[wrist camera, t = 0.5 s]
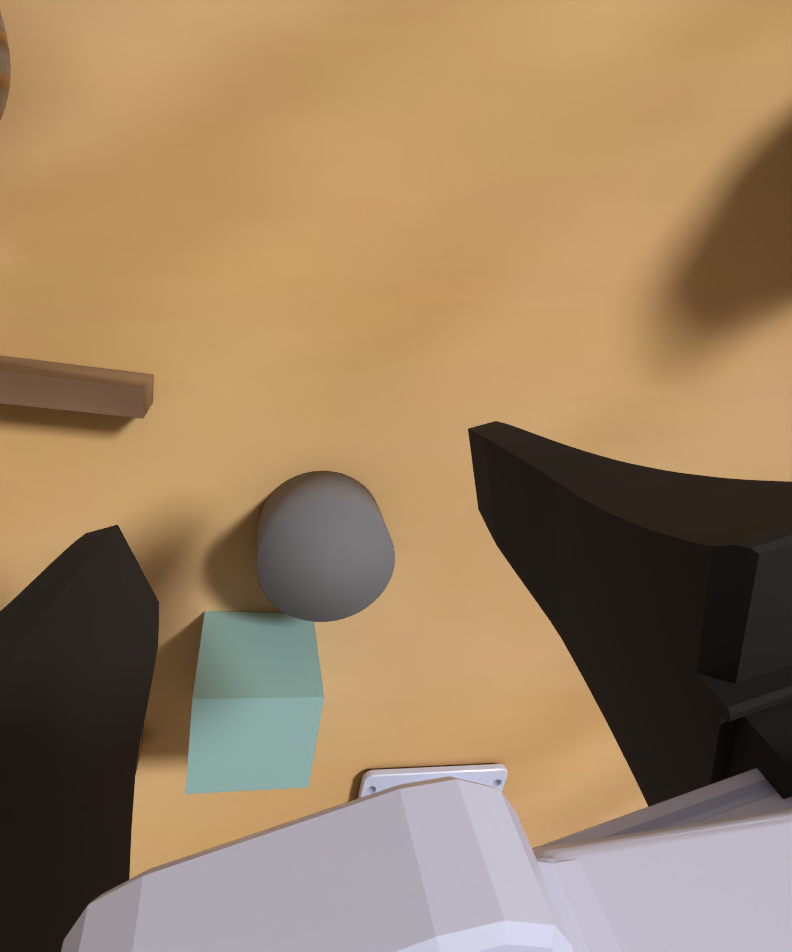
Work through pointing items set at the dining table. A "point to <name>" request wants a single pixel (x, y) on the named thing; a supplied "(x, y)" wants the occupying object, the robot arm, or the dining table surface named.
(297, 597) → the puck
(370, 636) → the dining table surface
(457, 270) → the dining table surface
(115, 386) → the brown angular piece
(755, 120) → the dining table surface
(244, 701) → the block
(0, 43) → the vase
